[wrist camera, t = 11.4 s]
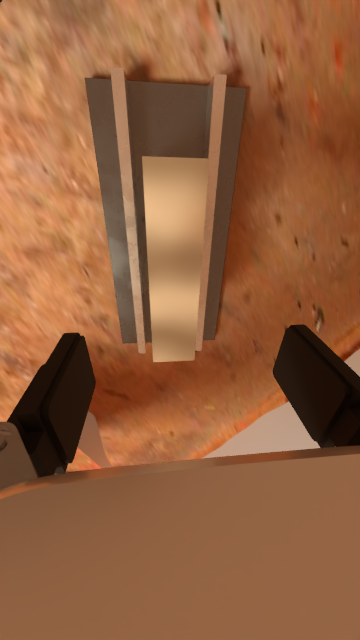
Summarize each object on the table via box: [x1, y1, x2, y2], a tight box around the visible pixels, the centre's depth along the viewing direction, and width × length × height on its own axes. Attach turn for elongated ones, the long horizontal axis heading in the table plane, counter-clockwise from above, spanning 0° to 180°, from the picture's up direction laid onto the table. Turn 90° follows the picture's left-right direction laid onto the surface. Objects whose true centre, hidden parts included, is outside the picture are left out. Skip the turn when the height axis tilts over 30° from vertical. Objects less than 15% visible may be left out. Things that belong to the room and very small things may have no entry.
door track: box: [85, 67, 247, 354], centre depth 26 cm, size 28×14×4 cm, turn 179°
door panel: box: [142, 156, 209, 362], centre depth 22 cm, size 16×4×11 cm, turn 179°
